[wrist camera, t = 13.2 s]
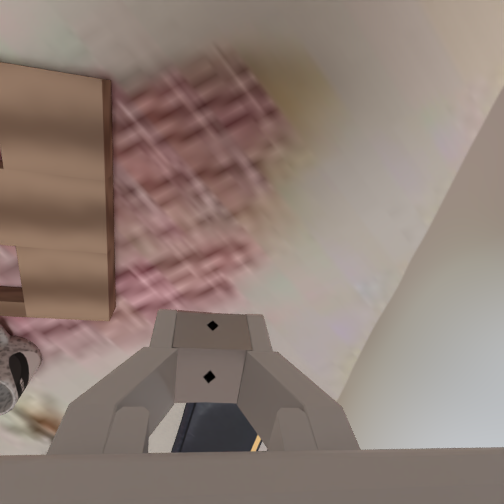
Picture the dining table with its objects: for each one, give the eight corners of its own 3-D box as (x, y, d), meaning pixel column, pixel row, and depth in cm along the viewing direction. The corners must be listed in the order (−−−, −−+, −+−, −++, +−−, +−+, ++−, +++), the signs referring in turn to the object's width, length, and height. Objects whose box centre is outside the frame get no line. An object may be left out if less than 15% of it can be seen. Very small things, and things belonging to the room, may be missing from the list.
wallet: (195, 378, 47) (292, 393, 51) (195, 368, 49) (289, 383, 53) (165, 466, 55) (251, 473, 58) (166, 455, 57) (250, 463, 60)
